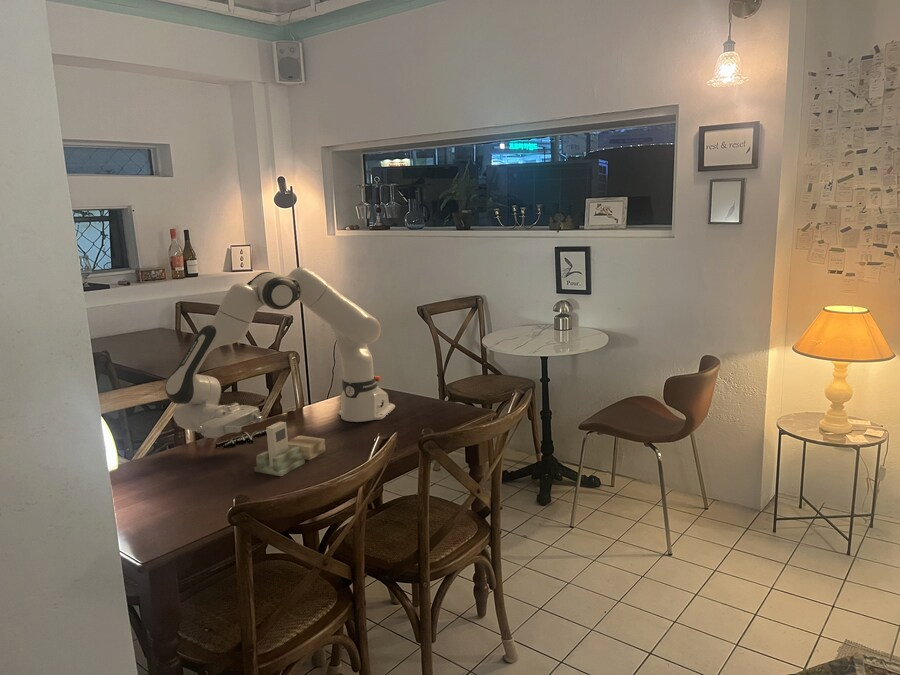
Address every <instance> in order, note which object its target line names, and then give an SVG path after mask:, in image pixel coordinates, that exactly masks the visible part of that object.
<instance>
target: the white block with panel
mask: <svg viewBox="0 0 900 675" xmlns="http://www.w3.org/2000/svg"><path fill="white" fill-rule="evenodd" d="M266 427H267V428H266ZM266 427H265V428H266V431H267V435H266V438H267V450H268V452H269V463H270V466H271V467H273V461H272V459H273V458H275V457H277V456H279V455H280V454H282V453H284V452H286V451H288V450H289V448H288V441H289V438H288V424H287V425H286V421H277V422H276V423H273V424H271V425H269V426H266Z"/></svg>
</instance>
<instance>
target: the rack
mask: <svg viewBox="0 0 900 675" xmlns="http://www.w3.org/2000/svg"><path fill="white" fill-rule="evenodd" d="M255 460H256V466H254V468H253V470H254V472H256V473H262V474H267V475H271V476H278V477H282V476H284V475H286V474H288V473H290V472H292V471H293V470H295V469H296V468H298V467H300V466H302V465H304V464H305V463H306V462H305V461H306V459H302V457H301V447H299V446H296V447H294V448H292V449H290V450H288V451H286V452H284V453H282V454H280V455H279V456H277V457H275V458H273V459H272V461H273V467H271V466H270V463H269V452H268V449H267V450H265V451H263V452H261V453H259V454H257V455H255Z"/></svg>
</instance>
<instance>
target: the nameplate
mask: <svg viewBox="0 0 900 675" xmlns="http://www.w3.org/2000/svg"><path fill="white" fill-rule="evenodd" d="M285 422H286V421H285ZM286 425H287V426H288V422H286ZM267 427H268V426H266V427H264V429H262V430H255V431H254V432H252V433H251V434H250V433H249V432H247V431H241V433H242V434H240V435H237V436H233V437H231V438H229V439H225V440H223V441H220V442H217V443H215V448H216V447H219V448H221V447H220V446H222V447H223V449H224V448H226V449H228V448H231V447H232V448H235V447H236V446H237V445H241V444H240V443H242V444H243V443H245V444H247V442H249V441H250V442H249V443H250V444H254V439H256V438H255V437H257V438H260V437H259V436H262V437H263V436H265V434H267V431H266V428H267ZM253 438H254V439H253ZM248 440H249V441H248ZM246 441H247V442H246ZM223 445H224V446H223ZM230 446H231V447H230Z"/></svg>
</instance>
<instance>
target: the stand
mask: <svg viewBox="0 0 900 675" xmlns="http://www.w3.org/2000/svg"><path fill="white" fill-rule="evenodd" d="M296 446H299V447H301V457H302V459H305V460H308V461H311V460H313V459H314V458H316V457H318V456H320V455H322V454H323V453H325V452H326V438H319V437H314V436H308V435H307V436H306V435H299V434H298V435H297V436H295V437H293V438H291V439H288V448H289V450H290V449H292V448H294V447H296Z"/></svg>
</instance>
